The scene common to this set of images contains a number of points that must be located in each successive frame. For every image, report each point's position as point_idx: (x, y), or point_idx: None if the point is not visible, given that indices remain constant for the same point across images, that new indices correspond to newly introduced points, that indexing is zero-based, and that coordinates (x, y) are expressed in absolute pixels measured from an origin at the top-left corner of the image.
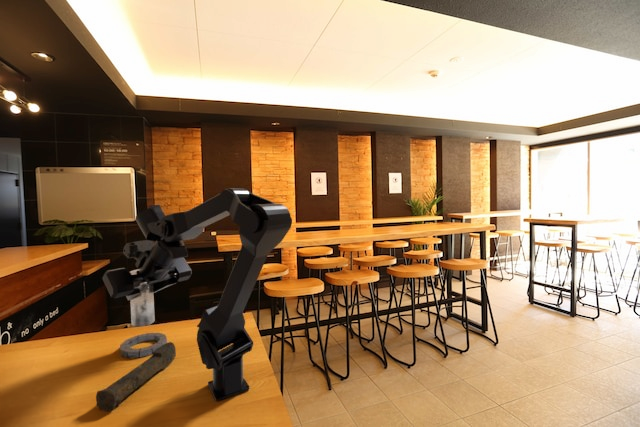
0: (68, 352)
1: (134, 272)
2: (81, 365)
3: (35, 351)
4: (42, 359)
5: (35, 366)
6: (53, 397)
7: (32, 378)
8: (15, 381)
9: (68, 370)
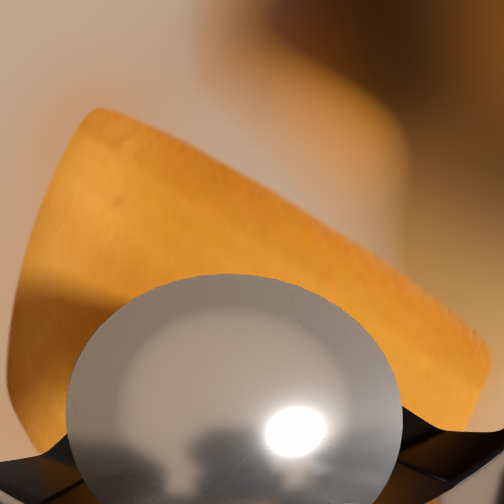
0: (114, 214)
1: (117, 464)
2: (101, 315)
3: (92, 158)
4: (78, 208)
5: (61, 232)
6: (44, 397)
7: (41, 284)
8: (29, 270)
9: (79, 314)
